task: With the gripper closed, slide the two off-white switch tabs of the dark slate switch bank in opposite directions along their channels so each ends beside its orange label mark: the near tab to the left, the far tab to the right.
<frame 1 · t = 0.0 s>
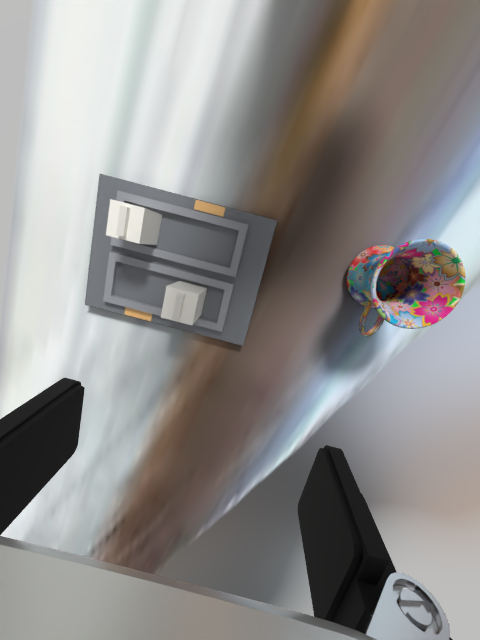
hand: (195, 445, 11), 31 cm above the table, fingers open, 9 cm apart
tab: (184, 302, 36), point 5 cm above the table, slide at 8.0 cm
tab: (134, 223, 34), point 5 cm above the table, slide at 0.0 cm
switch bank: (178, 264, 40), on the table
mug: (368, 284, 39), on the table
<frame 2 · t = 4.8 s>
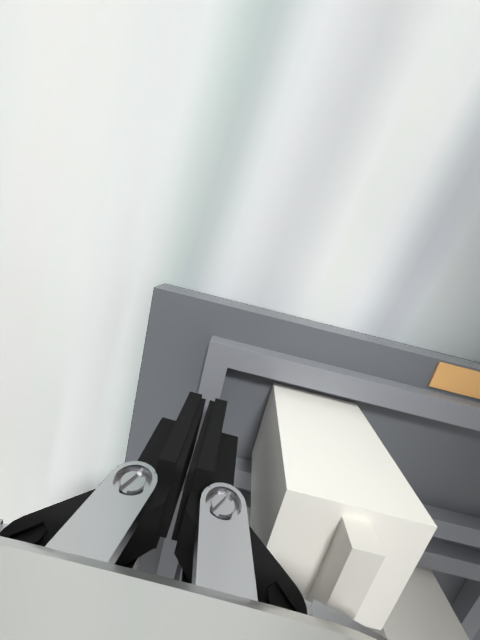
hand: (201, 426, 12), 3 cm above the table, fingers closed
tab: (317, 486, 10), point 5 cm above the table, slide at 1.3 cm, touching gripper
switch bank: (340, 487, 16), on the table
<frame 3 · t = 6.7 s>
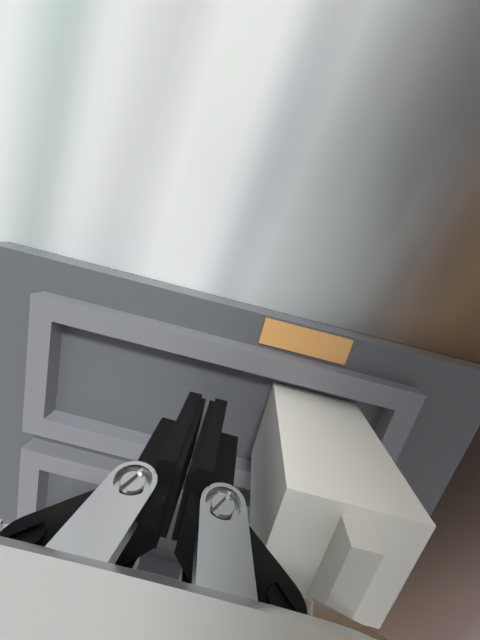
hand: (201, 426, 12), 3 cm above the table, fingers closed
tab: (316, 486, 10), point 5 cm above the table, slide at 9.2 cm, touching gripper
switch bank: (206, 452, 16), on the table
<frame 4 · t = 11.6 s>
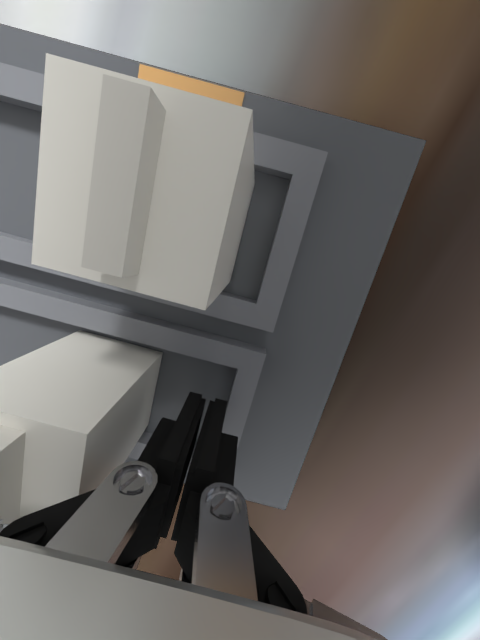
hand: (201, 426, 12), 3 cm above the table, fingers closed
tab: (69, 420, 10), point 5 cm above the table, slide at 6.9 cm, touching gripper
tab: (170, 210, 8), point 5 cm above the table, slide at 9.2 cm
switch bank: (104, 285, 14), on the table
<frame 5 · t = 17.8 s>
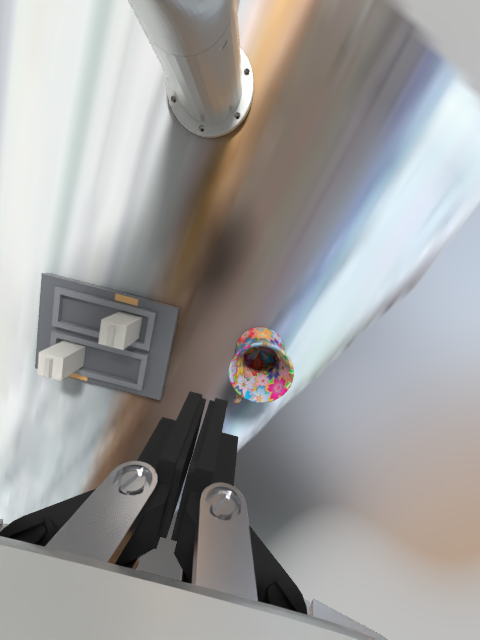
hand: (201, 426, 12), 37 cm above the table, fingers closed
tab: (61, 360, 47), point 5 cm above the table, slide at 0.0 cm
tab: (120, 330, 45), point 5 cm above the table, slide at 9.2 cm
switch bank: (108, 337, 51), on the table
mug: (255, 354, 50), on the table
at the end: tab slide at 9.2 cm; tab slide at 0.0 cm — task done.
